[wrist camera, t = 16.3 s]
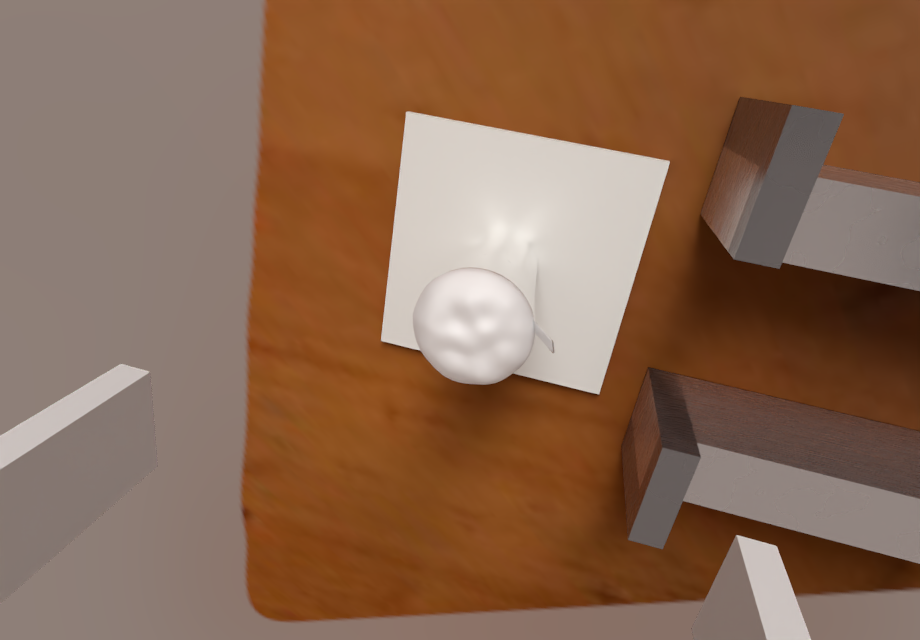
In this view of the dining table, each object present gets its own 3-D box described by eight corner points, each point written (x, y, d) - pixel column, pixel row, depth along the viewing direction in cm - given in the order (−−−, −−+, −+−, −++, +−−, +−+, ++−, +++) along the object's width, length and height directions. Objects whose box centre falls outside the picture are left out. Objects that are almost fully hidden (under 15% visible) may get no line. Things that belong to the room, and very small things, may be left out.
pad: (668, 160, 25) (670, 162, 25) (598, 390, 30) (598, 394, 30) (409, 111, 27) (406, 112, 26) (383, 338, 32) (381, 340, 32)
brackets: (1175, 172, 22) (1412, 212, 15) (936, 526, 29) (1030, 651, 23) (740, 96, 24) (792, 105, 17) (621, 446, 31) (627, 539, 25)
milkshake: (570, 303, 28) (559, 409, 19) (465, 308, 30) (409, 410, 21) (564, 211, 27) (548, 281, 18) (453, 222, 28) (385, 292, 19)
